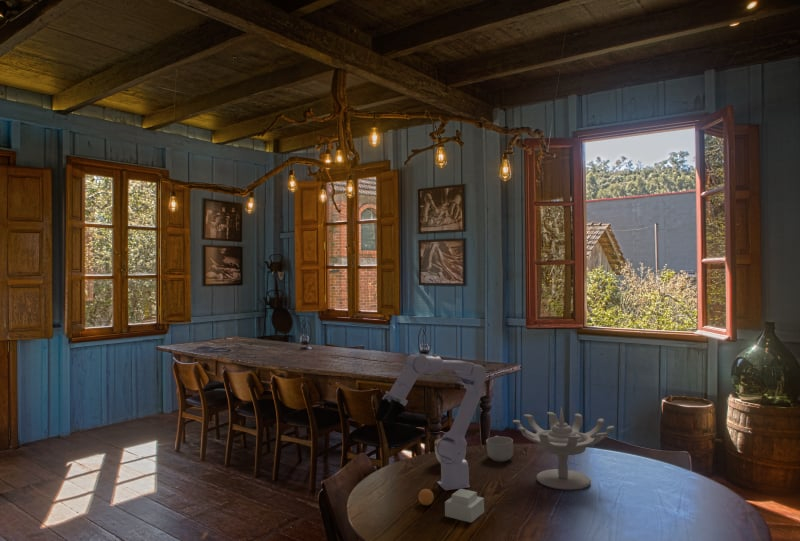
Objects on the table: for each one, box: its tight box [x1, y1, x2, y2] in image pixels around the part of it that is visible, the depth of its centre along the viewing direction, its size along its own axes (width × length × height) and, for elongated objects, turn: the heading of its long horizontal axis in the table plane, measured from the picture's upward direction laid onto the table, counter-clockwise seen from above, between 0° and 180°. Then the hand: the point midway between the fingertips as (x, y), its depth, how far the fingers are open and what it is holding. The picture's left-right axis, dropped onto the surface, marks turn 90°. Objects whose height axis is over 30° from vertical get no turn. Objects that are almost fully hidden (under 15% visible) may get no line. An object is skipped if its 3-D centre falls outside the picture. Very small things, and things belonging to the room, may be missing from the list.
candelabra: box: [512, 406, 615, 491], centre depth 197 cm, size 34×35×27 cm
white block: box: [444, 488, 485, 523], centre depth 171 cm, size 9×9×6 cm
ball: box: [418, 488, 435, 506], centre depth 179 cm, size 5×5×5 cm
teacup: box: [485, 435, 514, 463], centre depth 225 cm, size 14×11×8 cm
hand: (381, 421), depth 180 cm, fingers open, 7 cm apart
